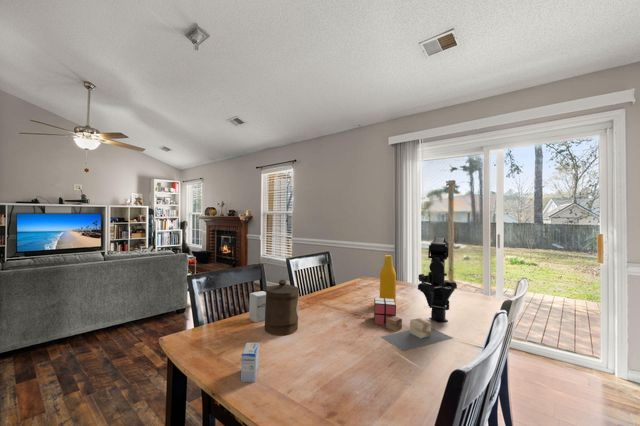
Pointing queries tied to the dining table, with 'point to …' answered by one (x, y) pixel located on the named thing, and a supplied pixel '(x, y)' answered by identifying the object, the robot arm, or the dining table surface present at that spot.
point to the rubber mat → (414, 339)
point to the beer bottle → (388, 279)
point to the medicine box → (250, 362)
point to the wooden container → (281, 309)
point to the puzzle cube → (383, 309)
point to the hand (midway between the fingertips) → (437, 305)
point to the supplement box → (257, 306)
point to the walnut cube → (394, 323)
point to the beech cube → (420, 328)
